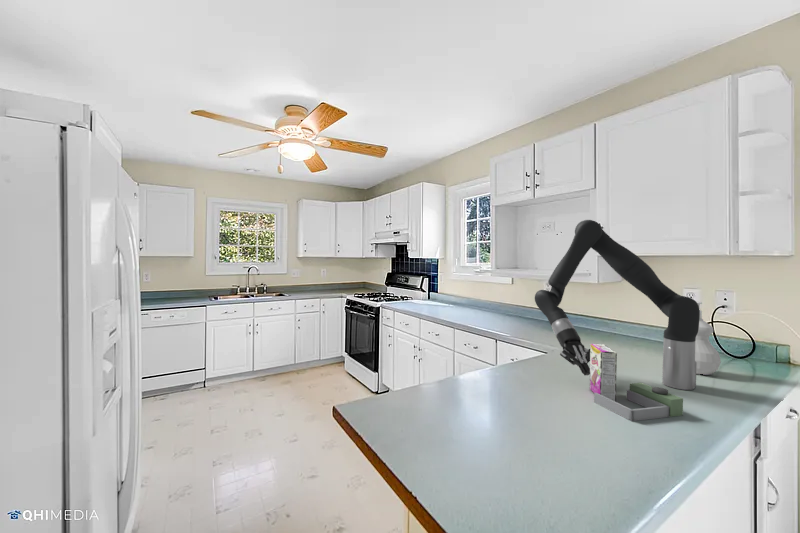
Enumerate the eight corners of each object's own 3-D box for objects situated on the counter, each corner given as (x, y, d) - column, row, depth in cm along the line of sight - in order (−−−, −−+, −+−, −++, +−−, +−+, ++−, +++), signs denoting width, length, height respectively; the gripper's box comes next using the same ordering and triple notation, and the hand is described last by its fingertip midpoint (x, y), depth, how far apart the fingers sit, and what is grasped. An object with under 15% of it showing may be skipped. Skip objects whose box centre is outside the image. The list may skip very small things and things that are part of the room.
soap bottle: (726, 376, 142) (728, 303, 142) (711, 380, 137) (714, 304, 137) (678, 364, 157) (680, 299, 157) (663, 367, 152) (665, 300, 152)
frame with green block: (640, 397, 118) (641, 379, 118) (682, 415, 104) (683, 395, 104) (594, 402, 113) (594, 383, 113) (631, 421, 100) (632, 400, 100)
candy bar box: (588, 389, 125) (589, 343, 124) (603, 390, 124) (605, 344, 123) (599, 401, 114) (600, 351, 113) (616, 403, 113) (617, 352, 112)
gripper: (555, 327, 132) (577, 370, 121) (585, 326, 135) (609, 368, 124) (545, 338, 138) (566, 380, 126) (574, 337, 141) (597, 378, 129)
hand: (588, 374), depth 125 cm, fingers closed
